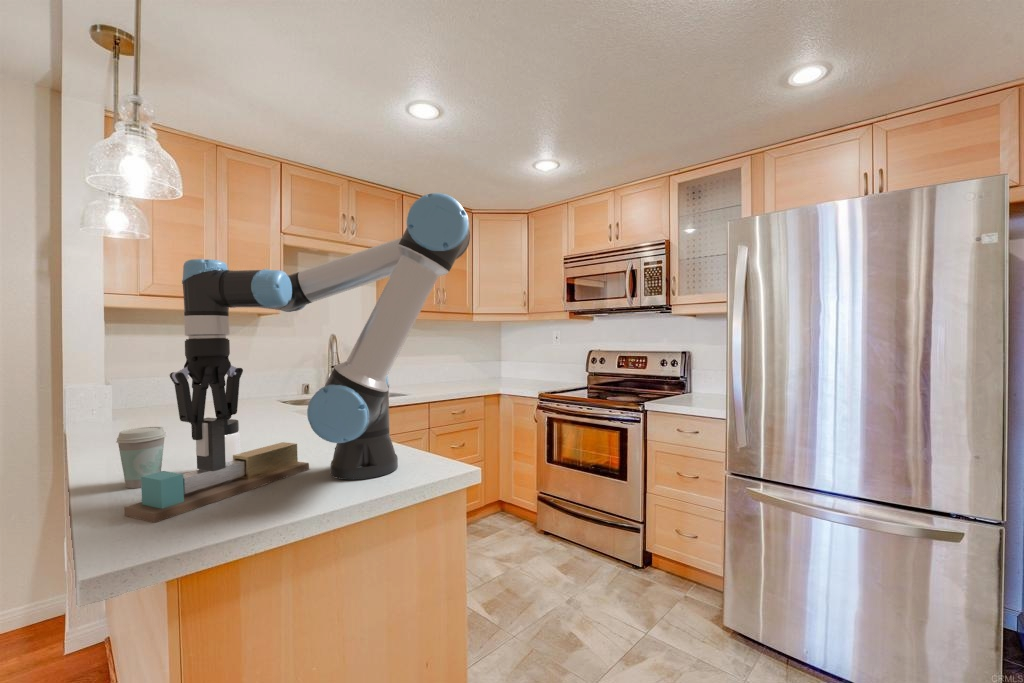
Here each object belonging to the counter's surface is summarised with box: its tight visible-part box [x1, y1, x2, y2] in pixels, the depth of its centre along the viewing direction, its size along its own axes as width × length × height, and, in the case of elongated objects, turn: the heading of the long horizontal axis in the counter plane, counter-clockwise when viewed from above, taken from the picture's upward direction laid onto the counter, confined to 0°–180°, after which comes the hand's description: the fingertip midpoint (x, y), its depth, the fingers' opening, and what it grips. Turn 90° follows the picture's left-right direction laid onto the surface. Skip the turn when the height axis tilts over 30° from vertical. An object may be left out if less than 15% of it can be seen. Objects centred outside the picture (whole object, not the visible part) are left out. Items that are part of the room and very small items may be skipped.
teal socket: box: [141, 470, 184, 509], centre depth 83 cm, size 4×6×5 cm, turn 67°
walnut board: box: [123, 461, 310, 523], centre depth 95 cm, size 33×9×2 cm, turn 157°
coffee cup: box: [115, 426, 167, 489], centre depth 100 cm, size 8×8×12 cm
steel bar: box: [182, 417, 246, 494], centre depth 95 cm, size 20×5×13 cm, turn 157°
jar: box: [198, 418, 241, 470], centre depth 107 cm, size 9×8×12 cm
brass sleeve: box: [233, 441, 299, 480], centre depth 103 cm, size 13×5×5 cm, turn 157°
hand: (210, 453), depth 92 cm, fingers closed on steel bar, 3 cm apart
